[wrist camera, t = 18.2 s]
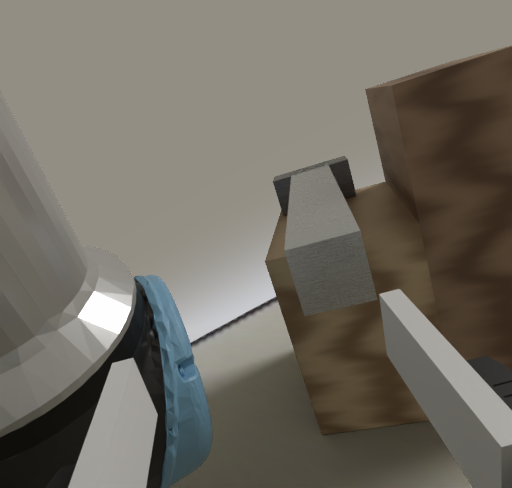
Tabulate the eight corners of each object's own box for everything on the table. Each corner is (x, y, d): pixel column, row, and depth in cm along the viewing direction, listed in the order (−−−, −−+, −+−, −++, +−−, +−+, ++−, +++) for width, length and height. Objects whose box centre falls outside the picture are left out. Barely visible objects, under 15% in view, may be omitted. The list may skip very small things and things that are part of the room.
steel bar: (269, 324, 23) (247, 260, 22) (284, 209, 47) (274, 176, 46) (415, 290, 21) (400, 219, 20) (352, 190, 46) (344, 155, 45)
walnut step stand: (322, 434, 38) (224, 139, 30) (320, 339, 53) (255, 125, 45) (562, 402, 33) (522, 42, 25) (486, 308, 48) (446, 62, 40)
